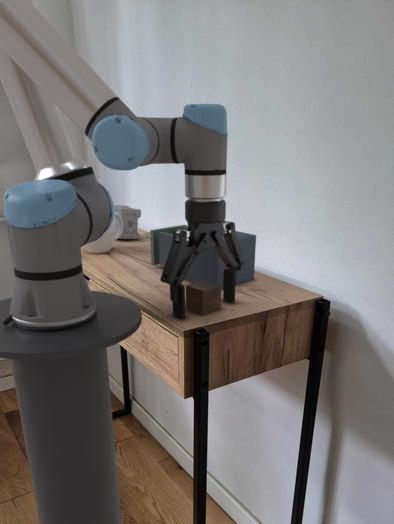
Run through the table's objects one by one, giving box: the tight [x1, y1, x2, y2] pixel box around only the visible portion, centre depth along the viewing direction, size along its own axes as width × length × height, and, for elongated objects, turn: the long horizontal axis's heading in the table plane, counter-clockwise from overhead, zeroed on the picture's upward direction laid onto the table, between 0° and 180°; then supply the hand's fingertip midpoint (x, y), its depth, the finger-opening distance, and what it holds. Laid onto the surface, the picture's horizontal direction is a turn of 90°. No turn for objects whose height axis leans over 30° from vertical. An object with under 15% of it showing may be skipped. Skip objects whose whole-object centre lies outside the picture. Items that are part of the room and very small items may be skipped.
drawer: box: [143, 224, 188, 267], centre depth 124 cm, size 19×11×9 cm, turn 42°
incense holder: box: [114, 204, 142, 240], centre depth 156 cm, size 10×8×10 cm
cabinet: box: [183, 230, 257, 290], centre depth 115 cm, size 15×13×11 cm
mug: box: [83, 207, 123, 255], centre depth 140 cm, size 15×11×13 cm
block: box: [185, 280, 222, 316], centre depth 96 cm, size 5×5×5 cm
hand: (205, 308), depth 97 cm, fingers open, 13 cm apart
